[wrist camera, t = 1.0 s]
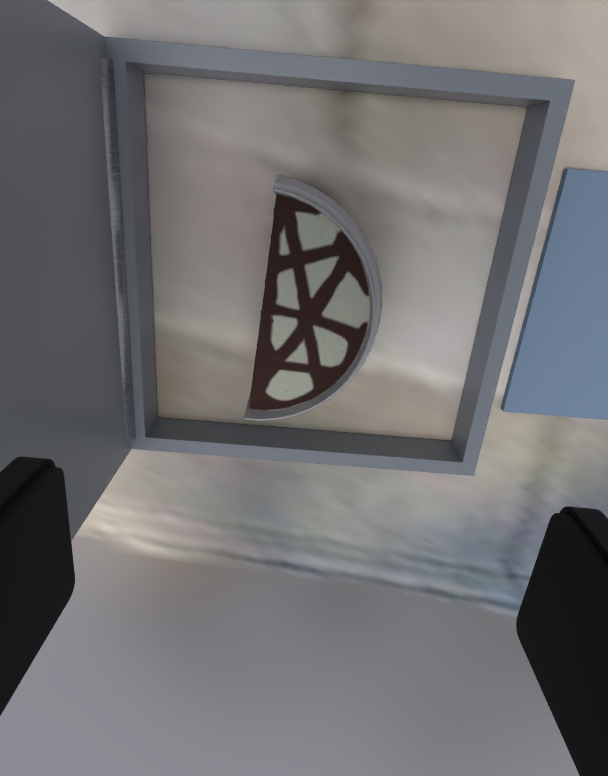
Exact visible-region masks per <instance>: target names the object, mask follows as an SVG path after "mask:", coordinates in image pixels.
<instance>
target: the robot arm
mask: <svg viewBox="0 0 608 776" xmlns="http://www.w3.org/2000/svg"><path fill="white" fill-rule="evenodd" d="M74 584H75V573H74V564H73V554H72V545H71V535H70V526H69V516H68V507H67V497H66V488H65V478H64V472H63V470H62V469H61V468H58V467H56V466H55V463H54V461H53V460H51V459H45V458H34V457H23V456H21V457H17V458H15V459H14V460H13V461H12V462H11V463H9V464H8V465H7V466H6V467H5V468H4V469H3V470H2V471H1V472H0V715H1V714H2V712H3V710H4V709H5V707H6V705H7V703H8V702H9V700H10V698H11V697H12V695H13V693H14V691H15V690H16V688H17V687H18V685H19V683H20V682H21V680H22V678H23V676H24V675H25V673H26V672H27V670H28V668H29V666H30V665H31V663H32V661H33V660H34V658H35V656H36V655H37V653H38V651H39V650H40V648H41V646H42V644H43V643H44V641H45V640H46V638H47V636H48V634H49V633H50V631H51V629H52V628H53V626H54V624H55V623H56V621H57V619H58V618H59V616H60V614H61V613H62V611H63V609H64V608H65V606H66V604H67V603H68V601H69V599H70V597H71V595H72V592H73V589H74ZM516 626H517V633H518V637H519V640H520V642H521V644H522V647H523V648H524V651H525V653H526V655H527V657H528V660H529V662H530V665H531V667H532V669H533V671H534V674H535V676H536V678H537V680H538V682H539V685H540V687H541V689H542V691H543V694H544V696H545V698H546V701H547V703H548V705H549V707H550V710H551V711H552V714H553V716H554V719H555V721H556V723H557V725H558V728H559V730H560V732H561V734H562V737H563V739H564V741H565V743H566V746H567V748H568V750H569V752H570V755H571V757H572V759H573V761H574V763H575V766H576V768H577V770H578V773H579V775H580V776H608V519H607V517H606V516H605V515H604V514H603V513H602V512H601V511H599V510H597V509H589V508H578V507H564V508H563V509H562V510H561V511H560V513H556V514H554V515H553V516H552V517H551V519H550V522H549V524H548V527H547V530H546V533H545V536H544V539H543V542H542V545H541V548H540V551H539V554H538V557H537V560H536V563H535V566H534V569H533V572H532V575H531V578H530V581H529V584H528V587H527V589H526V592H525V595H524V598H523V601H522V604H521V607H520V610H519V613H518V616H517V623H516Z"/></svg>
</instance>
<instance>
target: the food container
mask: <svg viewBox="0 0 608 776" xmlns="http://www.w3.org/2000/svg"><path fill="white" fill-rule="evenodd" d="M273 191H274V193H275V194H276V195H277V196H276V203H275V208H274V221H273V229H272V235H271V244H270V251H269V259H268V267H267V275H266V280H265V290H264V297H263V305H262V311H261V320H260V328H259V336H258V343H257V350H256V357H255V365H254V372H253V380H252V388H251V393H250V397H249V400H248V404H247V408H246V412H245V416H244V420H257V421H263V420H278V419H283V418H287V417H292V416H295V415H298V414H301V413H304V412H306V411H309V410H311V409H313V408H315V407H317V406H319V405H321V404H322V403H324V402H326V401H328V400H329V399H330V398H332V397H333V396H334V395H336V394H337V393H338V392H340V391H341V390H342V389H343V388H344V387H345V386H346V385H347V384H348V383H349V382H350V381H351V380H352V379H353V378H354V376H355V375H356V373H357V372H358V371H359V369H360V368H361V367H362V365H363V364H364V362H365V360H366V358H367V356H368V354H369V352H370V350H371V348H372V345H373V342H374V339H375V336H376V333H377V329H378V326H379V323H380V316H381V309H382V285H381V279H380V274H379V268H378V265H377V262H376V259H375V256H374V253H373V251H372V248H371V246H370V244H369V242H368V241H367V239H366V237H365V235H364V233H363V232H362V230H361V229H360V227H359V226H358V225H357V224H356V222H355V221H354V220H353V218H352V217H351V216H350V215H349V214H348V213H347V212H346V211H345V210H344V209H343V208H342V207H341V206H340V205H339V204H338V203H337V202H335V201H334V200H333V199H332V198H330V197H329V196H327V195H326V194H324V193H322V192H321V191H319V190H318V189H316V188H314V187H312V186H310V185H308V184H305V183H303V182H301V181H299V180H296V179H292V178H289V177H285V176H281V175H278V176H277V178H276V181H275V186H274V188H273Z"/></svg>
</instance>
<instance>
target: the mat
mask: <svg viewBox="0 0 608 776" xmlns="http://www.w3.org/2000/svg"><path fill="white" fill-rule="evenodd" d="M501 409H502V410H503V411H505V412H517V413H529V414H542V415H554V416H566V417H579V418H591V419H604V420H608V172H601V171H589V170H578V169H564V172H563V176H562V179H561V183H560V187H559V191H558V194H557V198H556V202H555V206H554V210H553V213H552V217H551V221H550V225H549V228H548V232H547V236H546V240H545V244H544V247H543V251H542V255H541V259H540V262H539V266H538V270H537V274H536V278H535V281H534V285H533V289H532V293H531V296H530V300H529V304H528V308H527V311H526V315H525V319H524V323H523V327H522V330H521V334H520V338H519V342H518V345H517V349H516V353H515V357H514V361H513V364H512V368H511V372H510V376H509V379H508V383H507V387H506V391H505V395H504V398H503V402H502V406H501Z"/></svg>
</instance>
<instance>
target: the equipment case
mask: <svg viewBox="0 0 608 776" xmlns="http://www.w3.org/2000/svg"><path fill="white" fill-rule="evenodd" d="M144 72H147V73H158V74H169V75H180V76H191V77H202V78H213V79H224V80H235V81H246V82H257V83H268V84H279V85H290V86H301V87H312V88H323V89H334V90H345V91H356V92H367V93H378V94H389V95H400V96H411V97H422V98H433V99H444V100H455V101H466V102H477V103H488V104H499V105H510V106H521V107H528V108H527V113H526V117H525V121H524V126H523V130H522V135H521V139H520V143H519V148H518V152H517V157H516V161H515V165H514V170H513V174H512V178H511V183H510V187H509V192H508V196H507V200H506V205H505V209H504V214H503V218H502V222H501V227H500V231H499V236H498V240H497V244H496V249H495V253H494V257H493V262H492V266H491V271H490V275H489V279H488V284H487V288H486V293H485V297H484V301H483V306H482V310H481V315H480V319H479V323H478V328H477V332H476V336H475V341H474V345H473V350H472V354H471V358H470V363H469V367H468V372H467V376H466V380H465V385H464V389H463V394H462V398H461V402H460V407H459V411H458V416H457V420H456V424H455V429H454V433H453V437H452V441H445V440H432V439H420V438H407V437H395V436H382V435H370V434H357V433H345V432H332V431H319V430H307V429H294V428H282V427H269V426H257V425H244V424H232V423H219V422H207V421H194V420H182V419H169V418H158V414H157V389H156V364H155V340H154V315H153V290H152V266H151V241H150V217H149V192H148V167H147V143H146V118H145V93H144ZM574 83H575V80H571V79H560V78H549V77H538V76H527V75H516V74H505V73H494V72H484V71H473V70H462V69H451V68H440V67H429V66H418V65H407V64H397V63H386V62H375V61H364V60H353V59H342V58H331V57H320V56H310V55H299V54H288V53H277V52H266V51H255V50H244V49H234V48H223V47H212V46H201V45H190V44H179V43H168V42H157V41H147V40H136V39H125V38H114V37H104V36H103V35H101V34H99V33H98V32H96V31H95V30H93V29H92V28H90V27H88V26H87V25H85V24H84V23H82V22H81V21H79V20H77V19H76V18H74V17H73V16H71V15H70V14H68V13H66V12H65V11H63V10H62V9H60V8H59V7H57V6H55V5H54V4H52V3H51V2H49V1H48V0H0V472H1V471H2V470H3V469H4V468H5V467H6V466H7V465H8V464H9V463H11V462H12V461H13V460H14V459H15V458H17V457H21V456H23V457H34V458H45V459H51V460H53V461H54V463H55V466H56V467H58V468H61V469H62V470H63V472H64V478H65V488H66V497H67V507H68V516H69V526H70V535H71V540H72V539H73V538H74V536H75V535H76V533H77V532H78V530H79V528H80V527H81V525H82V524H83V522H84V521H85V519H86V518H87V516H88V515H89V513H90V512H91V510H92V509H93V507H94V505H95V504H96V502H97V501H98V499H99V498H100V496H101V495H102V493H103V492H104V490H105V489H106V487H107V486H108V484H109V482H110V481H111V479H112V478H113V476H114V475H115V473H116V472H117V470H118V469H119V467H120V466H121V464H122V463H123V461H124V459H125V458H126V456H127V455H128V453H129V452H130V450H131V449H140V450H153V451H165V452H178V453H191V454H204V455H216V456H229V457H242V458H254V459H267V460H280V461H292V462H305V463H318V464H331V465H343V466H356V467H369V468H381V469H394V470H407V471H420V472H432V473H445V474H458V475H470V476H474V473H475V469H476V465H477V461H478V457H479V453H480V449H481V446H482V442H483V438H484V434H485V430H486V426H487V422H488V418H489V414H490V410H491V407H492V403H493V399H494V395H495V391H496V387H497V383H498V379H499V375H500V371H501V368H502V364H503V360H504V356H505V352H506V348H507V344H508V340H509V336H510V332H511V328H512V325H513V321H514V317H515V313H516V309H517V305H518V301H519V297H520V293H521V289H522V286H523V282H524V278H525V274H526V270H527V266H528V262H529V258H530V254H531V250H532V246H533V243H534V239H535V235H536V231H537V227H538V223H539V219H540V215H541V211H542V207H543V204H544V200H545V196H546V192H547V188H548V184H549V180H550V176H551V172H552V168H553V165H554V161H555V157H556V153H557V149H558V145H559V141H560V137H561V133H562V129H563V125H564V122H565V118H566V114H567V110H568V106H569V102H570V98H571V94H572V90H573V86H574Z"/></svg>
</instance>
